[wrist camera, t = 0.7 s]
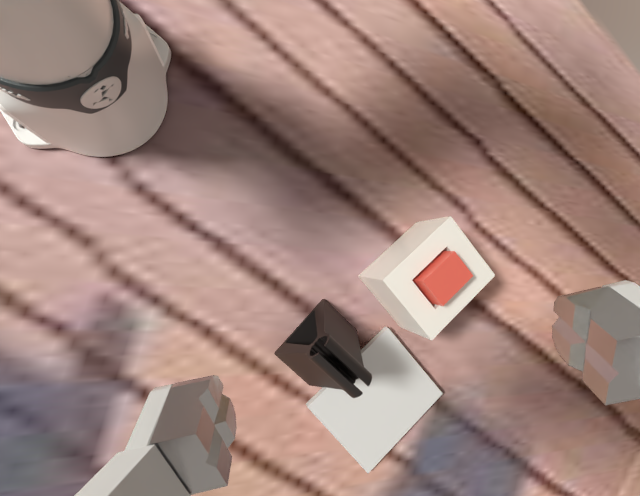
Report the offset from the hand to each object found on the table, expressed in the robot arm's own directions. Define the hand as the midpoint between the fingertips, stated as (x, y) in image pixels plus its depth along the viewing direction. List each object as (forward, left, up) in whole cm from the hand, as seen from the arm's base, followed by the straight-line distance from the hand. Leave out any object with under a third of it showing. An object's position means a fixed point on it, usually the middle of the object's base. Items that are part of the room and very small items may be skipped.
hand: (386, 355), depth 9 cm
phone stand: (+11, 0, -37) cm, 39 cm away
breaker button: (+13, +15, -30) cm, 36 cm away
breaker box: (+13, +15, -37) cm, 42 cm away
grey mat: (+22, +1, -37) cm, 43 cm away
